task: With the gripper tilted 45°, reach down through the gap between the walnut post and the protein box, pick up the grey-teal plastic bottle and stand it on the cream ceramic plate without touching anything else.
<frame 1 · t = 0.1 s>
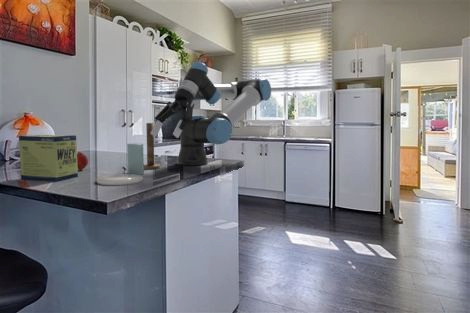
hand: (163, 135, 125), 15 cm above the countertop, tool tilted 35°, fingers open, 13 cm apart
protein box: (50, 178, 115), on the countertop
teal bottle: (135, 174, 125), on the countertop
walnut post: (150, 168, 141), on the countertop
cream plate: (120, 180, 110), on the countertop
red fruit: (80, 170, 133), on the countertop
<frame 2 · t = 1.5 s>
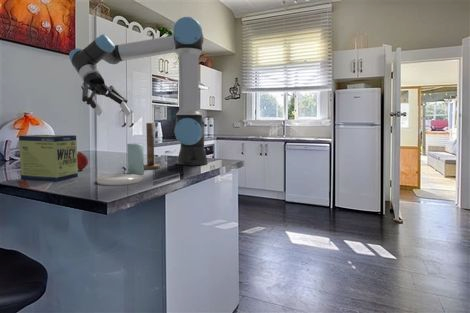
hand: (115, 113, 128), 24 cm above the countertop, tool tilted 45°, fingers open, 13 cm apart
nothing on the countertop moved.
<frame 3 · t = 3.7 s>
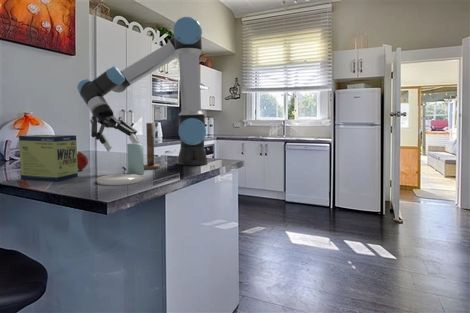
hand: (124, 148, 126), 10 cm above the countertop, tool tilted 45°, fingers open, 13 cm apart
nothing on the countertop moved.
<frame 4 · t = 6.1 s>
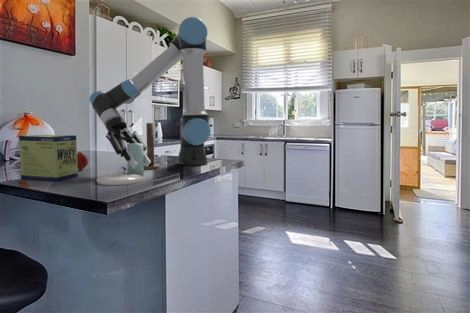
hand: (142, 165, 122), 4 cm above the countertop, tool tilted 45°, fingers closed on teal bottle, 6 cm apart
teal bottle: (135, 174, 125), on the countertop, touching gripper
everything else where it was.
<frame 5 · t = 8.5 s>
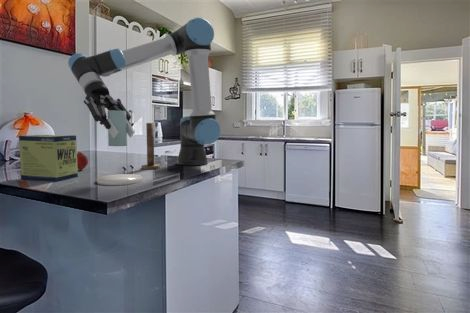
hand: (124, 134, 107), 16 cm above the countertop, tool tilted 45°, fingers closed on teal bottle, 6 cm apart
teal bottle: (117, 145, 110), point 12 cm above the countertop, touching gripper
everything else where it was.
when the fingers open (6 cm above the countertop, at t = 10.7 s): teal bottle drops 1 cm, resting on cream plate.
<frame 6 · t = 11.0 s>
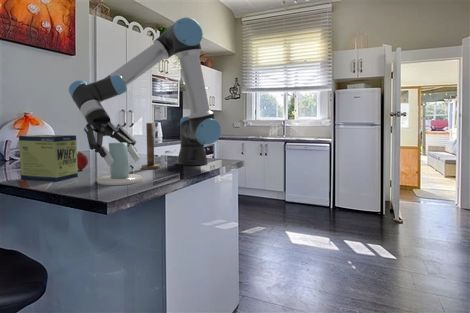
hand: (125, 161, 108), 7 cm above the countertop, tool tilted 45°, fingers open, 10 cm apart
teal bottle: (120, 177, 110), point 1 cm above the countertop, touching cream plate
everything else where it was.
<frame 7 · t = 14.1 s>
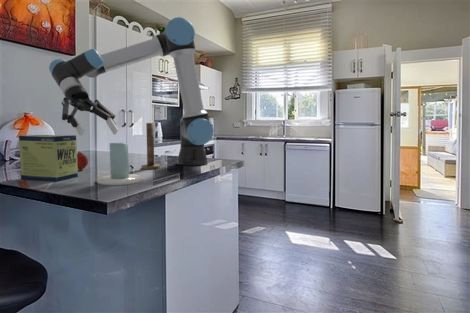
hand: (100, 132, 114), 17 cm above the countertop, tool tilted 45°, fingers open, 13 cm apart
nothing on the countertop moved.
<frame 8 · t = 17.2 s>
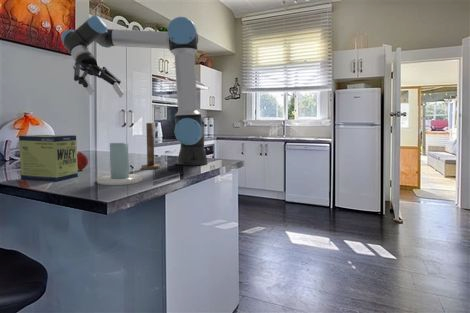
hand: (107, 93, 127), 32 cm above the countertop, tool tilted 45°, fingers open, 13 cm apart
nothing on the countertop moved.
at the end: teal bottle 0.1 cm from the cream plate (horizontally); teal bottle tilted 0°; protein box moved 0.3 cm from its start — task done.
